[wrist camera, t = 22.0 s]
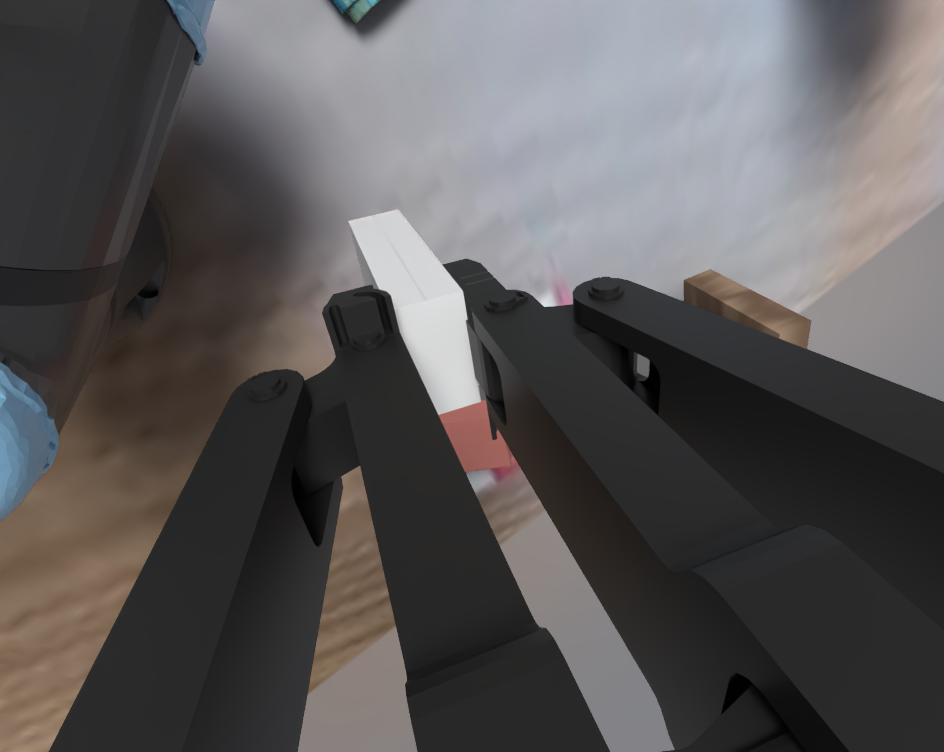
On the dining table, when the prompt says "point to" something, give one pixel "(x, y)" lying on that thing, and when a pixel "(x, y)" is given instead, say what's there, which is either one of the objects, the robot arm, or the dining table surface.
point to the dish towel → (355, 7)
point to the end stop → (745, 307)
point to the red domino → (475, 438)
